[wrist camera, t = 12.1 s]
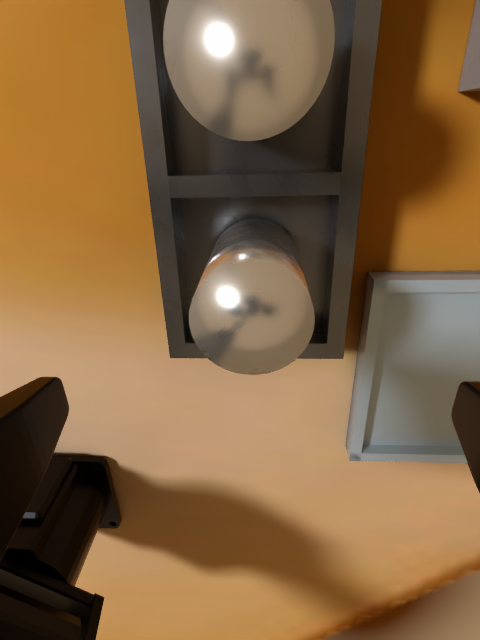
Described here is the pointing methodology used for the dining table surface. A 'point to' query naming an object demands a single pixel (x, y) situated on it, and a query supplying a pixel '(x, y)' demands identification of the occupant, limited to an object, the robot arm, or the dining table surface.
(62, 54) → the dining table surface
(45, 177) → the dining table surface
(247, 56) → the cylinder
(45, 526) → the robot arm
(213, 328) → the cylinder
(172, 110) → the grey divided tray
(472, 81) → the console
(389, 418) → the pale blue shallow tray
